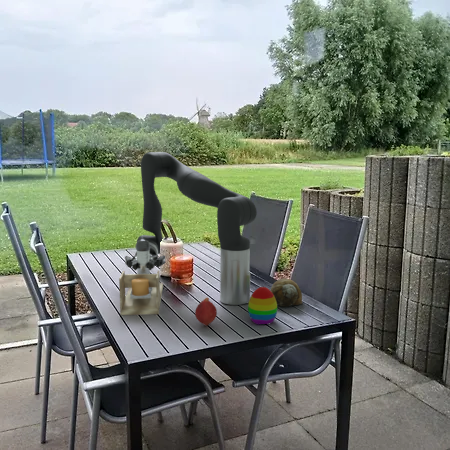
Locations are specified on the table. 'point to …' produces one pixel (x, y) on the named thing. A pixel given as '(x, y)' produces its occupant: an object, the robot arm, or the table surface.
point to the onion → (206, 312)
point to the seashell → (286, 292)
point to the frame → (140, 304)
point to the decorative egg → (262, 306)
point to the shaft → (143, 263)
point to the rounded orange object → (140, 286)
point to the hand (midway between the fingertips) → (142, 267)
